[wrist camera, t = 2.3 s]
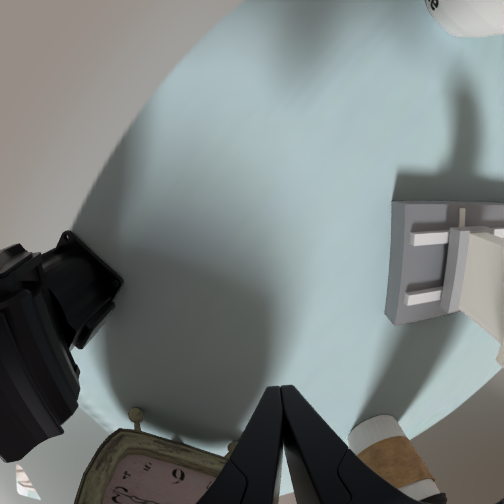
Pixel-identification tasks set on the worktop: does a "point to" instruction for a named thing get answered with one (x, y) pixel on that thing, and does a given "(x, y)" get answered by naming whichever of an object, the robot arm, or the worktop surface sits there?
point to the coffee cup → (394, 458)
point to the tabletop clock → (148, 469)
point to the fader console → (428, 252)
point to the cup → (469, 16)
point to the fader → (476, 279)
